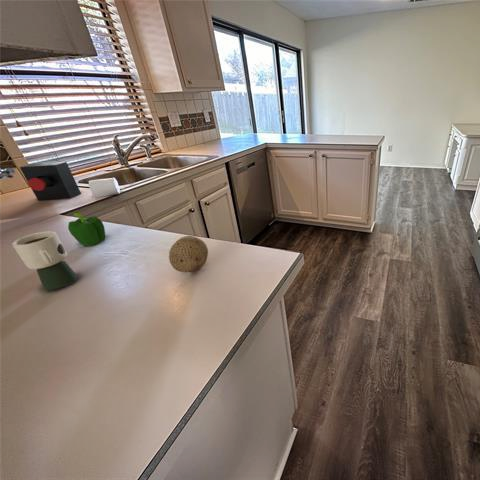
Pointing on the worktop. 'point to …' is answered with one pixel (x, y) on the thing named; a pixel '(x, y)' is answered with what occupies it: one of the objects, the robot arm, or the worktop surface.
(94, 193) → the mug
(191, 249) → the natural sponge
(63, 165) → the control box
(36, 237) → the character mug
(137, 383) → the worktop surface
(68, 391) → the worktop surface
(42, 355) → the worktop surface
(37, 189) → the knob
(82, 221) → the bell pepper
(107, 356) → the worktop surface
